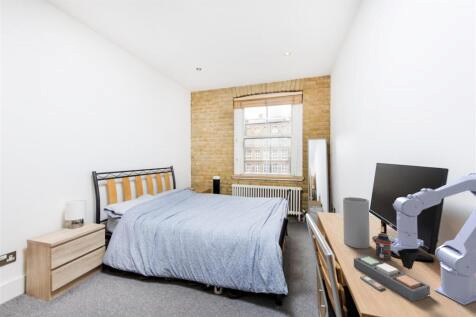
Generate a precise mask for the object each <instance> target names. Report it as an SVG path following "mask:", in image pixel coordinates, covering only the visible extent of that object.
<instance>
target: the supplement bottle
mask: <svg viewBox="0 0 476 317" xmlns="http://www.w3.org/2000/svg"><path fill="white" fill-rule="evenodd" d="M390 245H392V241H391V240H390V239H389V235H388V234H387V233H384V232H383V233H382V232H379V233H378V235H377V237H376V238H375V256H376V257H377V258H378V259H379V260H383V261H390V260H391V259H392V251H391V250H390Z"/></svg>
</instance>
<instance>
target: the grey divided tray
mask: <svg viewBox="0 0 476 317" xmlns="http://www.w3.org/2000/svg"><path fill="white" fill-rule="evenodd" d="M365 257H370V258H372V259H374V260H376V261H378V262H379V264H384V263H385V262H383V261H380V259H379V260H378V259H377V258H375V257H373V256H370V255H369V254H367V255H363V256H362V255H361V256H359V257H354V258H353V267H355V268H356V269H358V270H360V271H361V272H363V273H364V274H366V275H368V277H369V276H370V278H373V280H374V279H375V281H376V280H377V281H378V283H379V282H380V283H381V284H382V285H383V286H386V287H387V288H389V289H391V290H392V291H394V290H395V292H396V293H398V294H400V295H401V296H403V297H404V296H405V297H404V298H406V299H408V300H409V299H410V300H409V301H411V300H412V301H411V302H413V301H414V302H416V301H415V300H417V301H419V300H418V299H420V300H422V299H421V298H423V297H426V296H428V295H430V296H431V286H430V285H428V284H426V283H425V282H422V281H421V280H418V279H417V278H414V277H413V276H411V275H408V274H406V273H404V272H402V271H400V270H399V269H398V275H394V276H391V277H388V276H386V275H385V274H383V273H381V272H379V271H377V270H376V266H372V267H370V266H368V265H367V264H365V263H363V262H361V261H360V259H361V258H365ZM403 275H406V276H408V277H410V278H412V279H414V280H416V281H418V282H420V287H419V288H416V289H413V290H412V289H410V288H408V287H406V286H405V285H403V284H401V283H399V282H397V281H396V277H400V276H403ZM428 297H429V296H428ZM426 298H427V297H426ZM423 299H424V298H423Z"/></svg>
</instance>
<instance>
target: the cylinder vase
mask: <svg viewBox="0 0 476 317" xmlns="http://www.w3.org/2000/svg"><path fill="white" fill-rule="evenodd" d="M342 207H343V208H342V210H343V211H342V214H343V218H342V220H343V242H344V244H345V245H346V246H348V247H351V248H354V249H368V248H369V247H370V246H371V245H370V244H371V243H370V242H371V240H370V200H369V199H366V198H361V197H353V196H349V197H343V198H342Z"/></svg>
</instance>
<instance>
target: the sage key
mask: <svg viewBox="0 0 476 317" xmlns="http://www.w3.org/2000/svg"><path fill="white" fill-rule="evenodd" d="M360 261H361V262H363V263H365V264H367V265H368V266H370V267H372V266H376V265H380V264H379V262H378V261H376V260H374V259H372V258H370V257H365V258H361V259H360Z"/></svg>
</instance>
